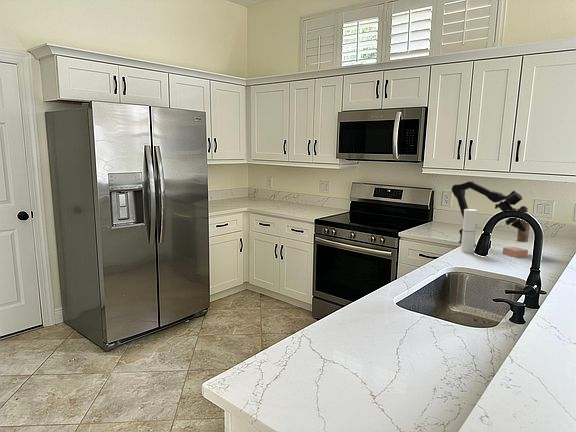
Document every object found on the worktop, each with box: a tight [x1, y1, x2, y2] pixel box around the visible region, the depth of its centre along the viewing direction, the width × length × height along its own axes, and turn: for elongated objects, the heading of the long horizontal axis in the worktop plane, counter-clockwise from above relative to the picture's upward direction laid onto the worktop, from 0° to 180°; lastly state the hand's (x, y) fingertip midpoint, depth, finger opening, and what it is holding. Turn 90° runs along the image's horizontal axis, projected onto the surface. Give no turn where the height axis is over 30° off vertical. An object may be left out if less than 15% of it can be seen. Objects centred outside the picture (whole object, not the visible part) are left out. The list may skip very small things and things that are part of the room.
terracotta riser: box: [501, 246, 529, 258], centre depth 233 cm, size 9×9×4 cm
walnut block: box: [516, 220, 531, 243], centre depth 238 cm, size 4×4×13 cm
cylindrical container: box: [460, 208, 478, 254], centre depth 238 cm, size 7×7×25 cm
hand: (526, 230), depth 237 cm, fingers closed on walnut block, 4 cm apart
